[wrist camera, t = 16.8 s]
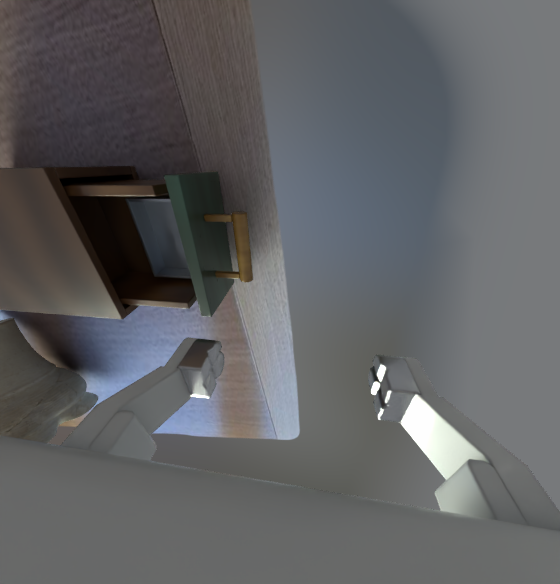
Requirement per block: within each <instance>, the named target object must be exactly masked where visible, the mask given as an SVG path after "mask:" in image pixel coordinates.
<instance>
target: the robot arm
mask: <svg viewBox="0 0 560 584" xmlns="http://www.w3.org/2000/svg"><path fill="white" fill-rule="evenodd" d="M221 348H222V346H221V342H220V341H214V340H206V339H196V338H186V339H184V340H183V342H182V343H181V344H180V346H179V347H178V349H177V350H176V351H175V353H174V354H173V355H172V357H171V358H170V359H169V361H168V362H167V363H166V365H165V366H164V367H162V366H161V367H159V368H157V369H156V370H154V371H152V372H151V373H149V374H147V375H146V376H144V377H142V378H141V379H139V380H137V381H136V382H134V383H132V384H131V385H129V386H127V387H126V388H124V389H122V390H121V391H119V392H117V393H116V394H114V395H112V396H111V397H109V398H107V399H106V400H104V401H102V402H101V403H99V404H97V405H96V406H95V407H94V408H93V410H92V411H91V412H90V413H89V414H88V415H87V416H86V417H85V418H84V420H83V421H82V422H81V423H80V424H79V425H78V426H77V427H76V429H75V430H74V431H73V432H72V433H71V434H70V435H69V436H68V437H67V438H66V440H65V441H64V442H63V443H62V444H61V445H54V444H48V443H42V442H36V441H30V440H25V439H19V438H13V437H7V436H1V435H0V584H560V511H559V510H558V509H557V507H556V506H555V504H554V503H553V502H552V500H551V499H550V497H549V496H548V495H547V493H546V492H545V490H544V489H543V487H542V486H541V485H540V483H539V482H538V480H537V479H536V478H535V476H534V475H533V473H532V472H531V470H530V469H529V468H528V466H527V465H526V464H524V463H523V462H522V461H521V460H519V459H518V458H517V457H515V456H514V455H513V454H512V453H511V452H510V451H508V450H507V449H506V448H505V447H503V446H502V445H501V444H500V443H498V442H497V441H496V440H495V439H493V438H492V437H491V436H490V435H489V434H487V433H486V432H485V431H484V430H483V429H481V428H480V427H479V426H477V425H476V424H475V423H474V422H473V421H471V420H470V419H469V418H468V417H466V416H465V415H464V414H463V413H462V412H460V411H459V410H458V409H457V408H455V407H454V406H453V405H452V404H451V403H449V402H448V401H447V400H446V399H444V398H443V397H438V395H437V393H436V391H435V389H434V387H433V386H432V384H431V382H430V380H429V378H428V377H427V375H426V373H425V371H424V369H423V367H422V366H421V364H420V362H419V360H418V359H416V358H407V357H396V356H384V355H376V356H375V357H374V359H373V364H374V366H373V367H372V368H370V372H369V387H370V391H371V392H372V393H373V395H374V396H375V399H374V402H373V403H374V407H375V410H376V414H377V418H378V419H380V420H386V421H393V422H399V423H401V424H402V426H403V427H404V428H405V429H406V430H407V432H408V433H409V434H410V435H411V437H412V438H413V439H414V440H415V442H416V443H417V444H418V446H419V447H420V448H421V449H422V451H423V452H424V453H425V454H426V456H427V457H428V458H429V459H430V461H431V462H432V463H433V464H434V466H435V467H436V468H437V469H438V470H439V472H440V473H441V474H442V476H443V477H444V478H445V479H446V481H445V482H444V483H443V484H442V485H441V486H440V487H439V488H438V489H437V490H436V492H435V495H436V498H437V501H438V504H439V507H440V509H441V511H440V510H434V509H428V508H423V507H417V506H411V505H405V504H399V503H393V502H387V501H382V500H376V499H370V498H364V497H358V496H352V495H346V494H341V493H335V492H329V491H323V490H317V489H311V488H306V487H300V486H294V485H288V484H282V483H276V482H271V481H265V480H259V479H253V478H247V477H241V476H235V475H229V474H223V473H218V472H212V471H206V470H200V469H194V468H188V467H183V466H177V465H171V464H165V463H159V462H153V461H150V460H151V458H152V456H153V454H154V452H155V451H156V449H157V447H156V443H155V442H154V441H153V439H152V438H151V437H150V435H151V434H152V433H153V432H154V431H155V430H156V429H157V428H159V427H160V426H161V425H162V424H163V423H164V422H165V421H166V420H167V419H168V418H169V417H171V416H172V415H173V414H174V413H175V412H176V411H177V410H178V409H179V408H180V407H182V406H183V405H184V404H185V403H186V402H187V401H188V400H189V399H190V398H191V396H193V397H204V398H211V395H212V393H213V391H214V389H215V386H216V380H215V379H216V378H217V377H219V376H220V375H221V373H222V370H223V366H224V354H223V353H222V352H221V351H220V350H221Z"/></svg>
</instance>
